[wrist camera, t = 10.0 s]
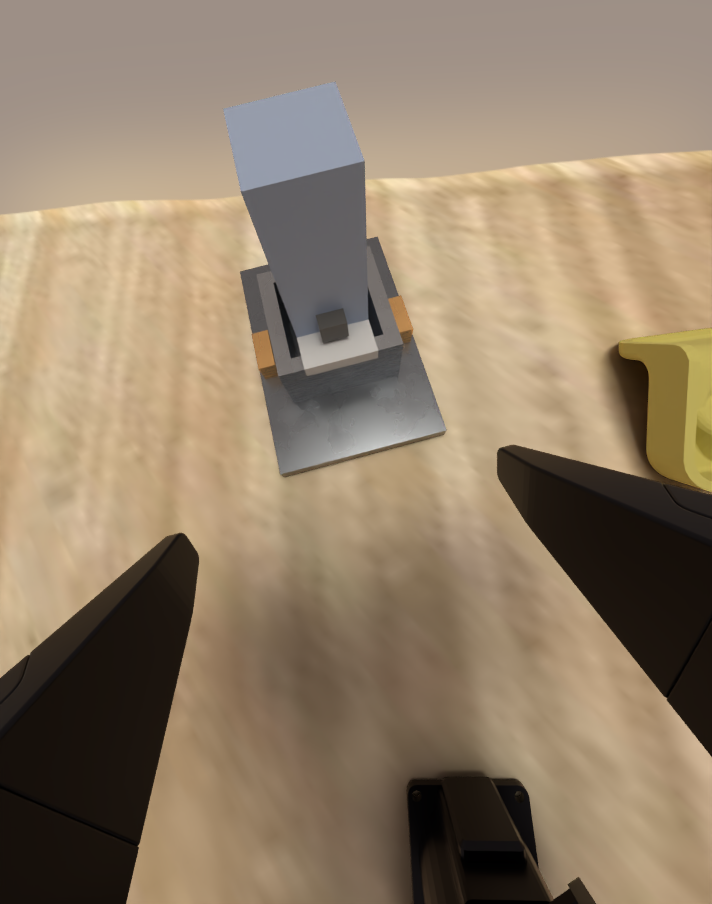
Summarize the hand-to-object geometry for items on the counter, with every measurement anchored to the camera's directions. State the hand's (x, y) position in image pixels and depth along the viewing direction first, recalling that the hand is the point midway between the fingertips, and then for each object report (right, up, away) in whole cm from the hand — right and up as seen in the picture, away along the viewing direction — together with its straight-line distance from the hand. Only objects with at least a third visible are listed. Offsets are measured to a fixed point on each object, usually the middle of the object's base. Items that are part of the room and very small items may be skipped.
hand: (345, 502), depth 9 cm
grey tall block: (-1, +10, +15) cm, 18 cm away
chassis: (-1, +10, +17) cm, 19 cm away
